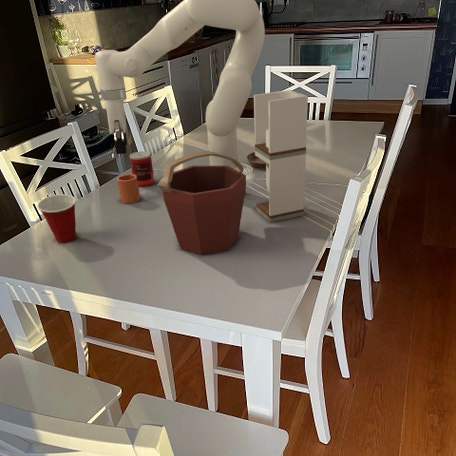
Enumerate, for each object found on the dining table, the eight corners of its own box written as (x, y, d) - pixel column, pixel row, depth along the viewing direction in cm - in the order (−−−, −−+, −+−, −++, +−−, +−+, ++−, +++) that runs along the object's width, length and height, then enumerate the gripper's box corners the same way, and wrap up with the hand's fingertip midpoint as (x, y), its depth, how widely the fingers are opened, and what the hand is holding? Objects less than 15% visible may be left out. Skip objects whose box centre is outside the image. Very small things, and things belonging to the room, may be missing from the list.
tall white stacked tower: (287, 203, 157) (289, 89, 138) (303, 215, 148) (308, 96, 130) (256, 209, 154) (253, 94, 135) (270, 222, 145) (269, 101, 126)
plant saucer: (241, 169, 188) (240, 161, 186) (253, 155, 202) (253, 148, 200) (285, 171, 182) (285, 163, 181) (295, 157, 196) (295, 150, 195)
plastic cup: (46, 249, 138) (35, 211, 131) (48, 234, 146) (37, 197, 140) (85, 243, 140) (75, 205, 133) (84, 228, 149) (75, 192, 142)
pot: (140, 202, 164) (136, 179, 160) (120, 204, 164) (116, 181, 159) (140, 195, 170) (136, 173, 166) (121, 197, 169) (117, 175, 165)
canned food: (144, 178, 185) (140, 150, 179) (159, 182, 180) (155, 153, 174) (129, 184, 180) (124, 155, 174) (143, 188, 175) (139, 159, 169)
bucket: (171, 265, 126) (159, 173, 112) (158, 231, 144) (146, 148, 130) (259, 249, 131) (257, 159, 118) (235, 218, 149) (231, 137, 136)
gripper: (103, 90, 156) (112, 143, 165) (99, 100, 141) (109, 158, 150) (126, 88, 156) (133, 141, 166) (125, 99, 142) (133, 156, 151)
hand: (122, 149), depth 158 cm, fingers open, 9 cm apart
